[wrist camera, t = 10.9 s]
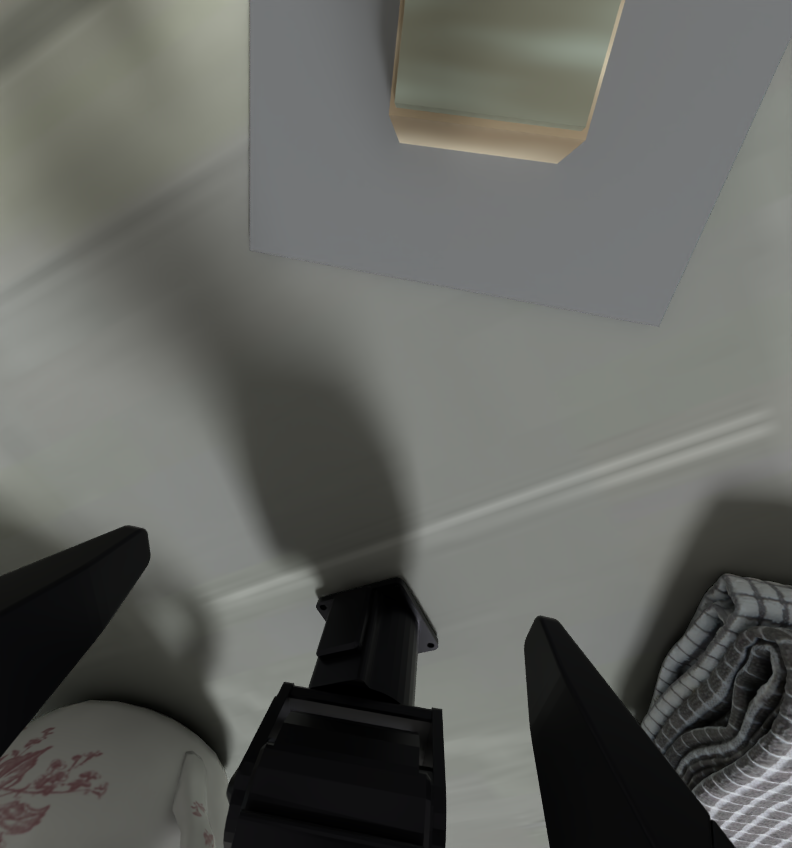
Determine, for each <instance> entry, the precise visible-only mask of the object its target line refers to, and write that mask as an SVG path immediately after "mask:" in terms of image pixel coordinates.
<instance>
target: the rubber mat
mask: <svg viewBox="0 0 792 848" xmlns="http://www.w3.org/2000/svg"><path fill="white" fill-rule="evenodd" d="M399 8H400V0H250V251H255V252H261V253H266V254H271V255H277V256H282V257H287V258H293V259H298V260H303V261H309V262H314V263H319V264H325V265H330V266H336V267H341V268H346V269H352V270H357V271H362V272H368V273H373V274H378V275H384V276H389V277H395V278H400V279H405V280H411V281H416V282H421V283H427V284H432V285H437V286H443V287H448V288H453V289H459V290H464V291H470V292H475V293H480V294H486V295H491V296H496V297H502V298H507V299H512V300H518V301H523V302H529V303H534V304H539V305H545V306H550V307H555V308H561V309H566V310H571V311H577V312H582V313H587V314H593V315H598V316H604V317H609V318H614V319H620V320H625V321H630V322H636V323H641V324H646V325H652V326H657V327H659V326H660V324H661V321H662V319H663V317H664V315H665V313H666V310H667V308H668V306H669V304H670V302H671V299H672V297H673V295H674V293H675V291H676V288H677V286H678V284H679V282H680V280H681V278H682V275H683V273H684V271H685V269H686V267H687V264H688V262H689V260H690V258H691V256H692V253H693V251H694V249H695V247H696V245H697V243H698V240H699V238H700V236H701V234H702V232H703V229H704V227H705V225H706V223H707V221H708V218H709V216H710V214H711V212H712V210H713V208H714V205H715V203H716V201H717V199H718V197H719V194H720V192H721V190H722V188H723V186H724V183H725V181H726V179H727V177H728V175H729V172H730V170H731V168H732V166H733V164H734V162H735V159H736V157H737V155H738V153H739V151H740V148H741V146H742V144H743V142H744V140H745V137H746V135H747V133H748V131H749V129H750V127H751V124H752V122H753V120H754V118H755V116H756V113H757V111H758V109H759V107H760V105H761V102H762V100H763V98H764V96H765V94H766V91H767V89H768V87H769V85H770V83H771V81H772V78H773V76H774V74H775V72H776V70H777V67H778V65H779V63H780V61H781V59H782V56H783V54H784V52H785V50H786V48H787V46H788V43H789V41H790V39H791V37H792V0H625V3H624V6H623V10H622V13H621V17H620V21H619V24H618V28H617V31H616V35H615V38H614V42H613V45H612V49H611V52H610V56H609V59H608V63H607V66H606V70H605V74H604V77H603V81H602V84H601V88H600V91H599V95H598V98H597V102H596V105H595V109H594V112H593V116H592V119H591V123H590V127H589V130H588V134H587V137H586V140H585V141H584V142H583V143H582V144H580V145H579V146H578V147H577V148H576V149H574V150H573V151H572V152H571V153H570V154H568V155H567V156H566V157H565V158H564V159H562V160H561V161H560V162H559V163H558V164H555V163H547V162H540V161H532V160H525V159H517V158H509V157H502V156H494V155H487V154H479V153H472V152H464V151H457V150H449V149H442V148H434V147H427V146H419V145H412V144H404V143H399V140H398V137H397V135H396V132H395V130H394V127H393V124H392V122H391V119H390V117H389V108H390V98H391V88H392V78H393V68H394V58H395V48H396V38H397V28H398V18H399Z"/></svg>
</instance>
